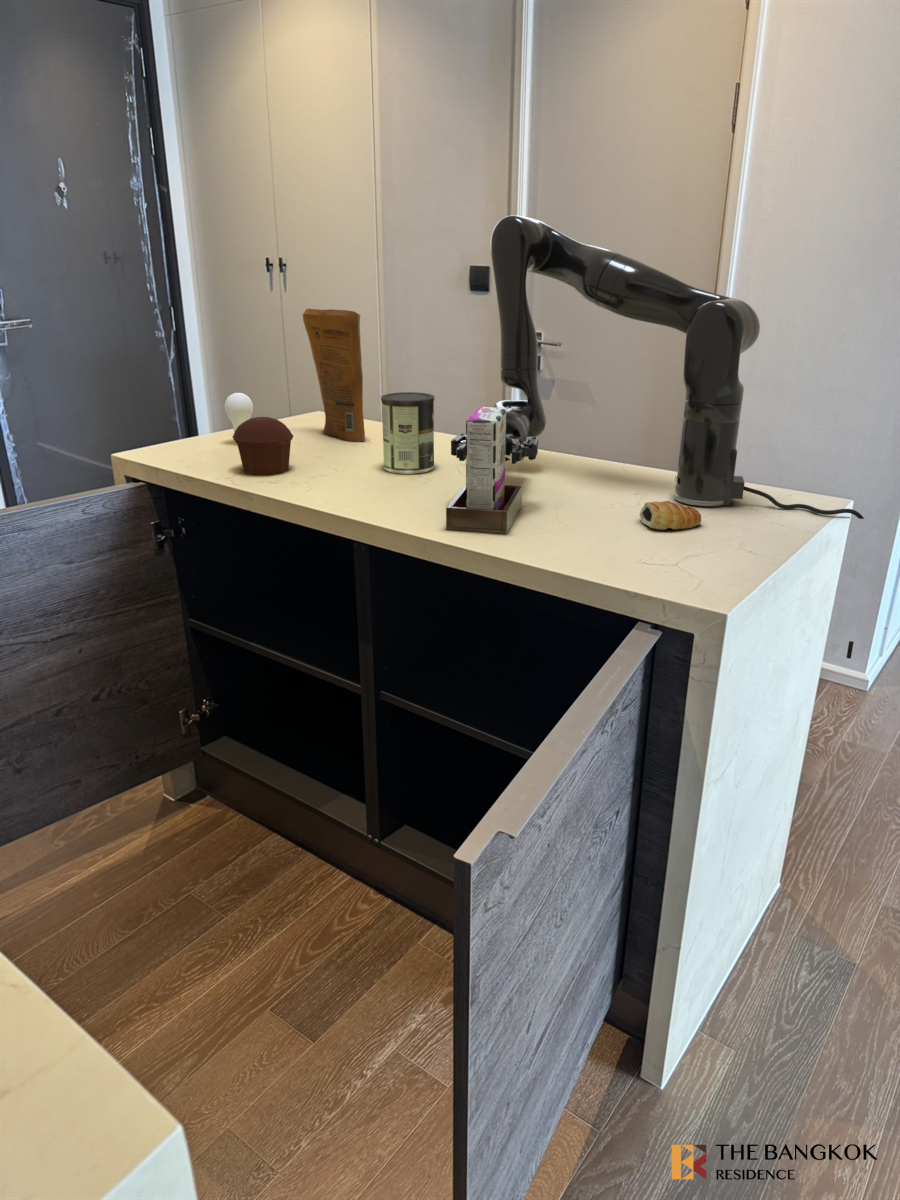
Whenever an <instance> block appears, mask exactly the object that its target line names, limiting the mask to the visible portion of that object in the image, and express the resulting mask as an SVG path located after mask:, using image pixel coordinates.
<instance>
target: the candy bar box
mask: <svg viewBox="0 0 900 1200" xmlns="http://www.w3.org/2000/svg"><path fill="white" fill-rule="evenodd" d="M465 434H466V459H465V472H466V473H465V484H466V508H478V509H493V510H502V508H503V506H504V504H505V485H506V462H505V454H506V408H500V407H497V408H496V407H494V406H479V407H477V408H476V409H475V410H474V411H473V412H472V414H471V415H470V416H469V417H468V418H467V419H466V420H465Z"/></svg>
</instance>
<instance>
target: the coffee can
mask: <svg viewBox="0 0 900 1200" xmlns="http://www.w3.org/2000/svg"><path fill="white" fill-rule="evenodd" d="M380 401H381V419H382V450H383V451H382V452H383V455H382V456H383V470H384V471H386V472H389V473H392V474H402V475H415V474H424V473H428V472H431V471H433V470H434V469H435V402H434V401H435V395H433V394H431V393H426V392H413V391H405V392H404V391H403V392H401V391H400V392H392V393H391V392H390V393H387V394H383V395H381V396H380Z"/></svg>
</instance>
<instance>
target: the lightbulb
mask: <svg viewBox="0 0 900 1200" xmlns="http://www.w3.org/2000/svg"><path fill="white" fill-rule="evenodd" d="M224 411H225V414H226V415H227V417H228V419H229V420H230V422H231V424H232V429H233V432H235V430H236V429H237V427H238V426H239V425H240V424H242V423H243V422H245V421H246V420H248V419H251V418H252V417H251V416H252V414H253V411H254V404H253V400H252V399H251V398H250V397H249V395H247V394H245V393H242V392H233V393H231V394H230V395H228V396H227V397H226V399H225V401H224Z"/></svg>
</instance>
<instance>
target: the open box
mask: <svg viewBox="0 0 900 1200" xmlns="http://www.w3.org/2000/svg"><path fill="white" fill-rule="evenodd" d="M522 497H523V485H516V484H515V485H514V484H505V504H504V506H503V508H502V510H493V509H478V508H466V483H465V484H464V485H463V487H462V488H460V490H459V492H458V493H457V494H456V495H455V496H454V498H453V499H452V500H451V501H450V502H449V503H448V505H447V506H446V507H445V530H447V531H459V532H473V533H485V534H498V535H499V534H500V535H507V534H508V532H509V530H510V528H511V526H512V524H513V523H514V521H515V519H516V517H517V515H518V513H519V511H520V509H521V507H522V499H523V498H522Z"/></svg>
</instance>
